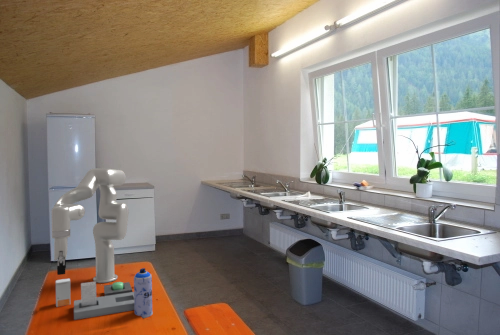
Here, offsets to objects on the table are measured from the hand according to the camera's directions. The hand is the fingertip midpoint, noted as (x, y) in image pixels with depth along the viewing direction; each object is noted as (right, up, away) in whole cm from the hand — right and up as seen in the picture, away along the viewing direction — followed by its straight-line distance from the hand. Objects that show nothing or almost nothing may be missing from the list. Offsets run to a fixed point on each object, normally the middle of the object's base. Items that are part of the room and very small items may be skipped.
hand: (61, 271), depth 178 cm
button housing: (+21, -16, +14) cm, 29 cm away
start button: (+21, -14, +14) cm, 28 cm away
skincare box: (0, -17, +1) cm, 17 cm away
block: (+15, -16, -6) cm, 23 cm away
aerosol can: (+39, -17, -8) cm, 43 cm away
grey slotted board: (+22, -16, -3) cm, 28 cm away
